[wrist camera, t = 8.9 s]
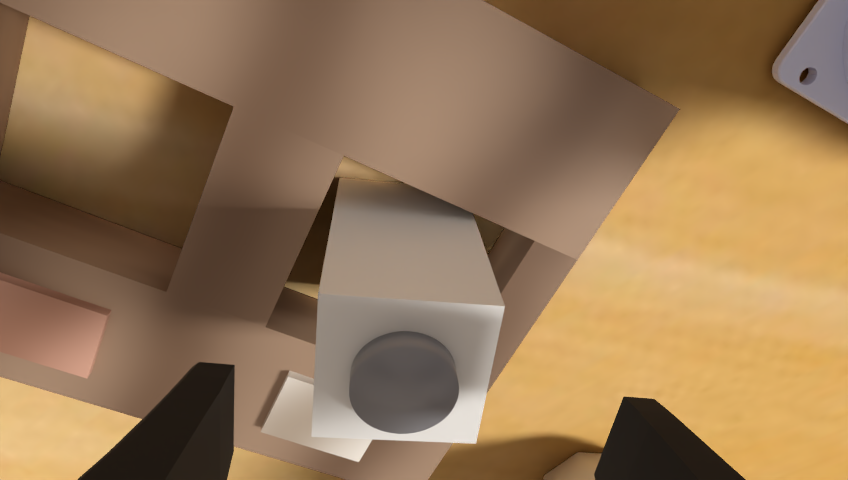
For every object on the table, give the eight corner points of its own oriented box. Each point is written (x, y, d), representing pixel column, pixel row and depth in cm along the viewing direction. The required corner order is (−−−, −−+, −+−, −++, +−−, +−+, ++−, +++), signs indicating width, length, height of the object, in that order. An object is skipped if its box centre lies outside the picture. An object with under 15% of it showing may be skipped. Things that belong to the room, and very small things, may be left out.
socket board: (642, 89, 18) (685, 112, 15) (411, 448, 24) (414, 506, 21) (9, -260, 13) (-77, -309, 11) (-80, 289, 19) (-150, 340, 17)
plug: (464, 188, 19) (510, 322, 12) (447, 294, 21) (479, 462, 14) (339, 177, 18) (315, 309, 12) (333, 286, 20) (308, 456, 13)
